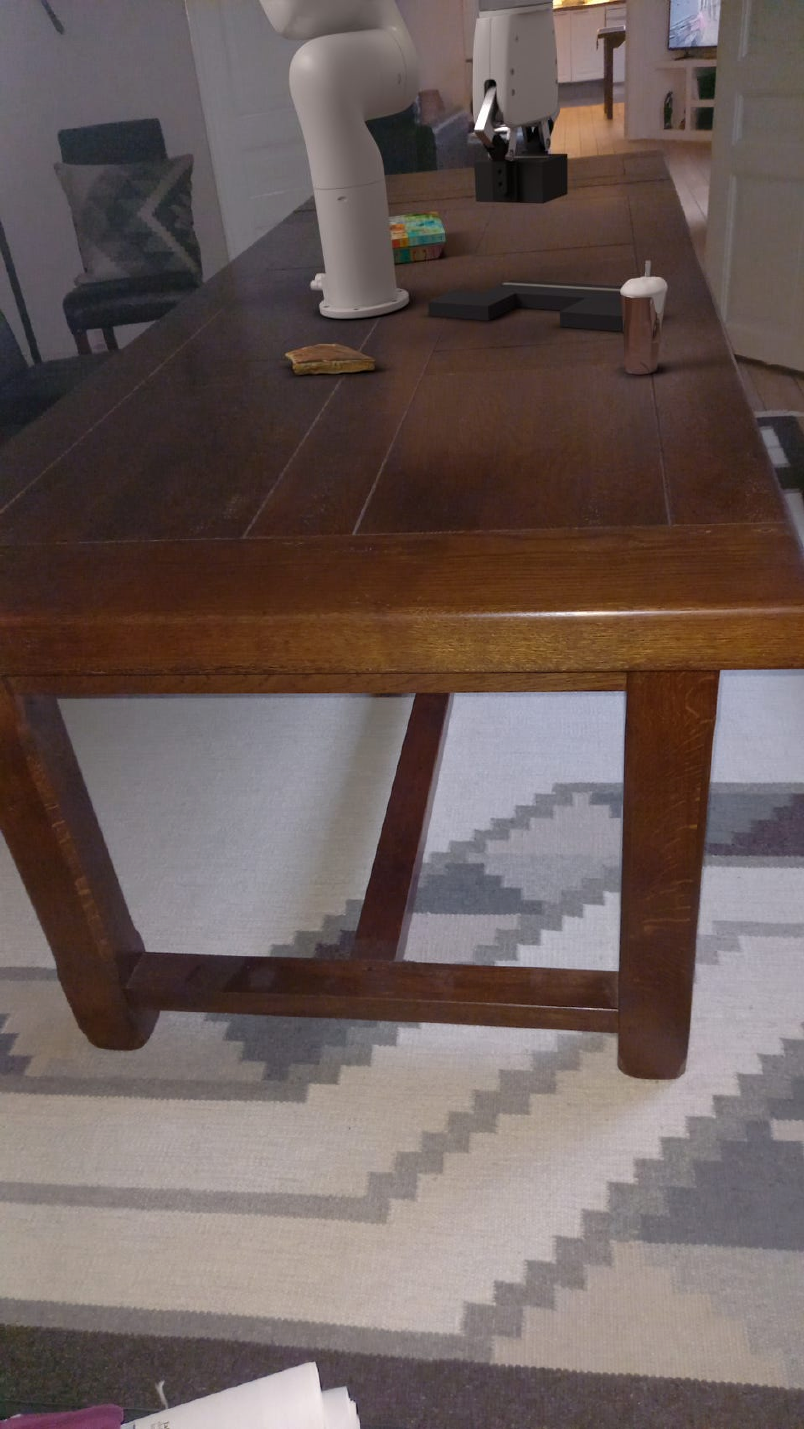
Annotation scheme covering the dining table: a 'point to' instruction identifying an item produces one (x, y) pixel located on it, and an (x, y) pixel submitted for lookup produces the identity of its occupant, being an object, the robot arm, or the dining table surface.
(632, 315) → the milkshake
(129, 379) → the dining table surface
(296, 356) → the toasted sandwich half
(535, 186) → the pad
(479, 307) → the socket pad
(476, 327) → the dining table surface
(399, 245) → the puzzle game
